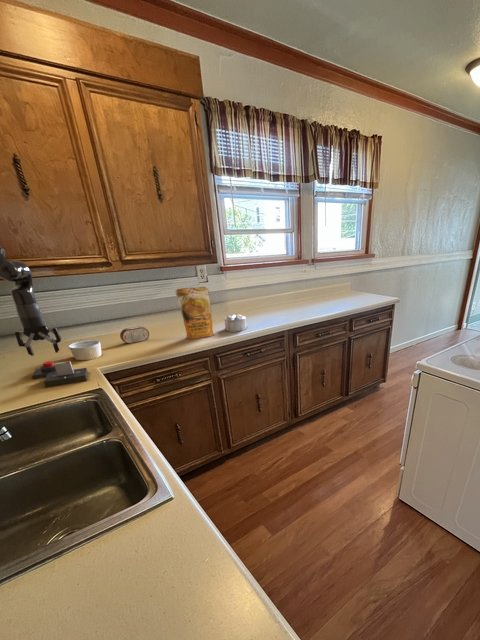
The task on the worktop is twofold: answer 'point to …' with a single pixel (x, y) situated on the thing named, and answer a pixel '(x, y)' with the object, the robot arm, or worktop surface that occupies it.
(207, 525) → the worktop surface
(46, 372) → the power switch
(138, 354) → the worktop surface
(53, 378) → the control panel
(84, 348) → the ramekin
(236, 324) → the lumpy-topped squat cylinder
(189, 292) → the pancake mix bag
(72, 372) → the grey rectangular block
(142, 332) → the tin
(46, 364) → the power button
